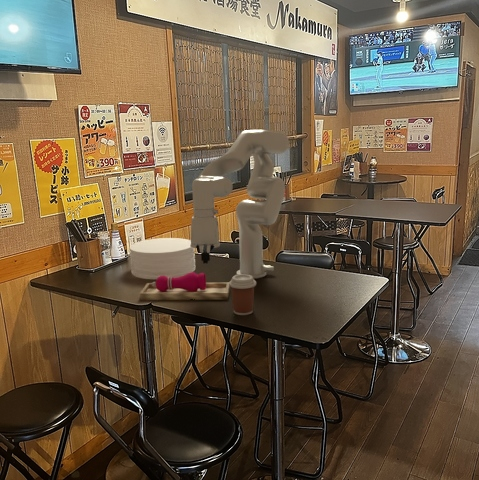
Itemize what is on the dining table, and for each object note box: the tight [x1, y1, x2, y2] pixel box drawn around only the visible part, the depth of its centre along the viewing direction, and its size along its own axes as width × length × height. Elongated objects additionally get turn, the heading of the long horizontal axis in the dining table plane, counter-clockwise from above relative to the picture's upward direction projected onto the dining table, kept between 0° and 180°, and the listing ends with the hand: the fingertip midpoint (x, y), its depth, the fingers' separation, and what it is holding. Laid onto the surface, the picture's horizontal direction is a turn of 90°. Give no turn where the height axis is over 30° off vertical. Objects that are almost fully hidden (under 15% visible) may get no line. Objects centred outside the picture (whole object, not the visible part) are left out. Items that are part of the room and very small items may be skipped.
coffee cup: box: [229, 274, 257, 316], centre depth 159 cm, size 9×9×12 cm
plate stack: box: [129, 237, 196, 280], centre depth 211 cm, size 28×28×12 cm
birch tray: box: [138, 281, 231, 301], centre depth 179 cm, size 32×12×2 cm, turn 88°
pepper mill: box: [151, 271, 207, 292], centre depth 179 cm, size 7×7×20 cm
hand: (205, 262), depth 176 cm, fingers closed
